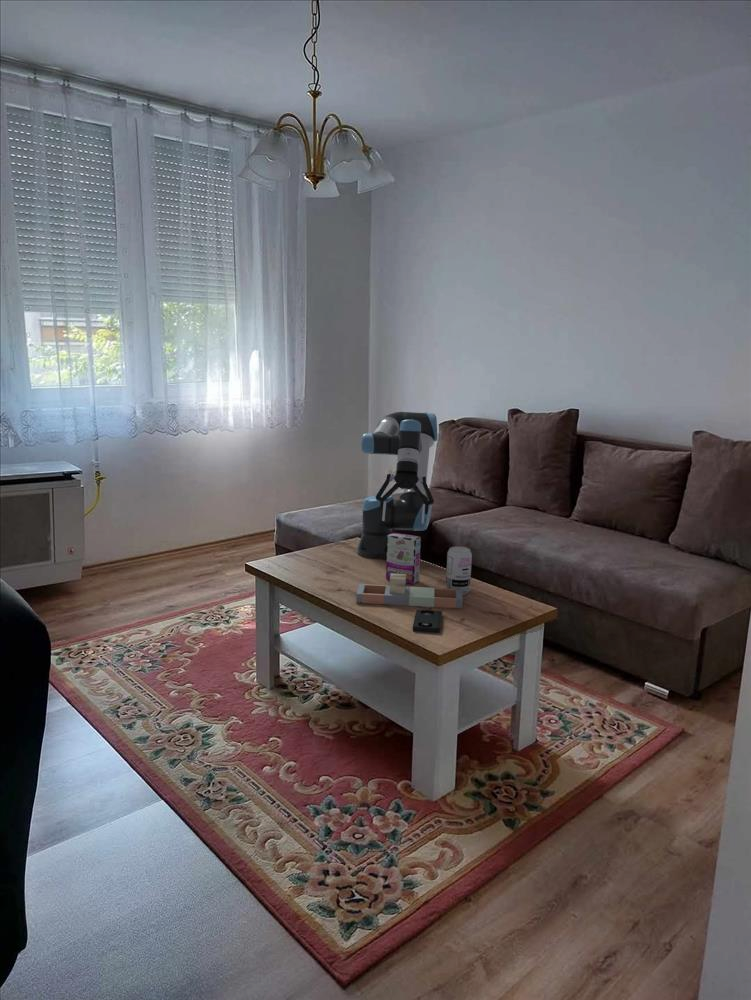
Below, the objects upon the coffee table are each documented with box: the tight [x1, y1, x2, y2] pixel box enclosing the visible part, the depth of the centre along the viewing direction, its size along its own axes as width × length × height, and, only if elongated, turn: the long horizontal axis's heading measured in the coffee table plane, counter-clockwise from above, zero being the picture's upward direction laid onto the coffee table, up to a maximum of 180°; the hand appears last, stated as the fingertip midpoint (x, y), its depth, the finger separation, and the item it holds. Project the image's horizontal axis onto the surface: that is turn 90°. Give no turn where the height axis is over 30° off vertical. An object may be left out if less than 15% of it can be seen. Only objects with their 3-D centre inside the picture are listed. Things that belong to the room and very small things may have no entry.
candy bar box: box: [385, 532, 422, 585], centre depth 253 cm, size 11×5×16 cm, turn 62°
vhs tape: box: [412, 609, 443, 634], centre depth 216 cm, size 14×8×2 cm, turn 172°
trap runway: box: [355, 583, 464, 610], centre depth 235 cm, size 10×34×3 cm, turn 85°
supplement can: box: [445, 545, 473, 596], centre depth 243 cm, size 8×8×15 cm
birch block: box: [389, 573, 407, 594], centre depth 234 cm, size 5×5×5 cm
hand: (402, 521), depth 248 cm, fingers open, 13 cm apart
